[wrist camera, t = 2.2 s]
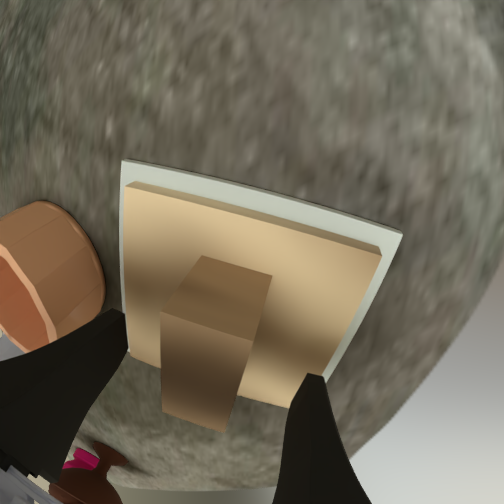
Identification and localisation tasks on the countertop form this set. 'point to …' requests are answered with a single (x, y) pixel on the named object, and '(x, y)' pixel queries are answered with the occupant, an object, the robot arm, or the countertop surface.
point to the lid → (233, 299)
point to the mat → (276, 207)
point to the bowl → (46, 275)
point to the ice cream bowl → (89, 481)
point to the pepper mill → (82, 460)
